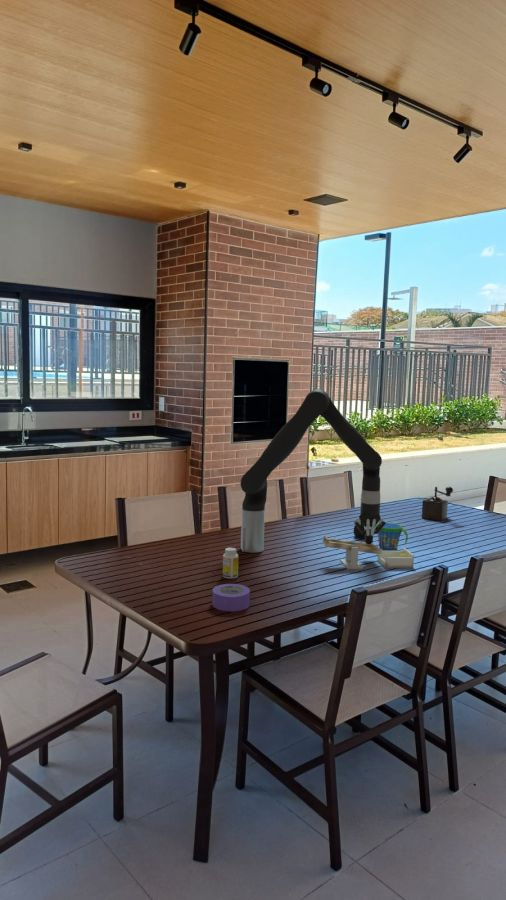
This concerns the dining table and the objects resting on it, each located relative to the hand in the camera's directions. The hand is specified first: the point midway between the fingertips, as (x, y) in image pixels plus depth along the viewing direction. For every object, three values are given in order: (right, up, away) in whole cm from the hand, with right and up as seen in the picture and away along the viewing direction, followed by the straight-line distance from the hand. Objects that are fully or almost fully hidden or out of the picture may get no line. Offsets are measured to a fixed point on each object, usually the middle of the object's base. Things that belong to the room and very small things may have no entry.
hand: (368, 544), depth 256 cm
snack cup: (+11, -5, +18) cm, 22 cm away
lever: (-8, 0, -4) cm, 9 cm away
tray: (+9, -7, -5) cm, 13 cm away
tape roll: (-53, -12, -53) cm, 76 cm away
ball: (+14, -6, -4) cm, 16 cm away
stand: (-8, -7, -7) cm, 12 cm away
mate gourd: (+3, -2, +37) cm, 37 cm away
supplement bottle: (-54, -8, -25) cm, 60 cm away
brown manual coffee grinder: (+51, +1, +79) cm, 94 cm away
